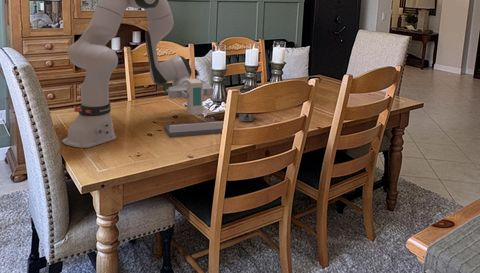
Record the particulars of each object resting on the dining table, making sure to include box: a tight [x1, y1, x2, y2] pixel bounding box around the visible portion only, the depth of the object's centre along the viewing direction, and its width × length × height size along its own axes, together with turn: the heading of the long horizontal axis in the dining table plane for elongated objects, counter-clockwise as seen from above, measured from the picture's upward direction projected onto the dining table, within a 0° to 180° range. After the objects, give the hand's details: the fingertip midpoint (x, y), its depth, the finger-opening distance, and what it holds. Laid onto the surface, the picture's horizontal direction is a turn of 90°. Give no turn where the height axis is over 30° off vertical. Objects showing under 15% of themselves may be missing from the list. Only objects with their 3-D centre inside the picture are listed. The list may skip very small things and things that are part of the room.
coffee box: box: [238, 84, 257, 122], centre depth 239 cm, size 9×6×16 cm
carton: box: [186, 78, 204, 116], centre depth 218 cm, size 5×8×14 cm, turn 20°
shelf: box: [163, 120, 225, 138], centre depth 222 cm, size 25×12×5 cm, turn 110°
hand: (194, 95), depth 218 cm, fingers closed on carton, 5 cm apart
